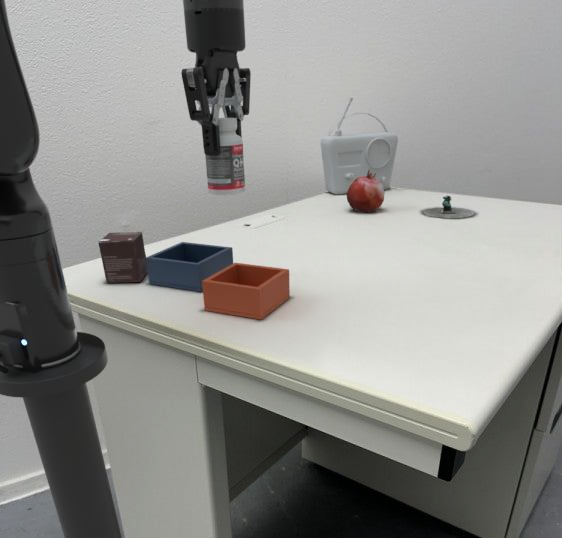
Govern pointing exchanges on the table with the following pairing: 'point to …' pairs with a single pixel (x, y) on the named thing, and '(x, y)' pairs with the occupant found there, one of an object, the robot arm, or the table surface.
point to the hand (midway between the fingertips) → (223, 152)
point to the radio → (357, 156)
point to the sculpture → (448, 210)
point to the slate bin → (187, 265)
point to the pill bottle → (227, 162)
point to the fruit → (365, 193)
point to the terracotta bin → (246, 290)
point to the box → (123, 257)
